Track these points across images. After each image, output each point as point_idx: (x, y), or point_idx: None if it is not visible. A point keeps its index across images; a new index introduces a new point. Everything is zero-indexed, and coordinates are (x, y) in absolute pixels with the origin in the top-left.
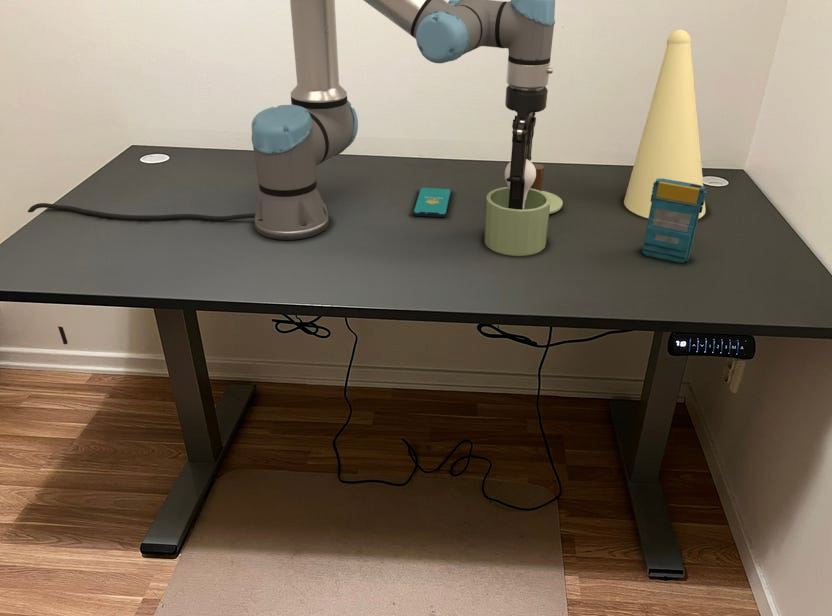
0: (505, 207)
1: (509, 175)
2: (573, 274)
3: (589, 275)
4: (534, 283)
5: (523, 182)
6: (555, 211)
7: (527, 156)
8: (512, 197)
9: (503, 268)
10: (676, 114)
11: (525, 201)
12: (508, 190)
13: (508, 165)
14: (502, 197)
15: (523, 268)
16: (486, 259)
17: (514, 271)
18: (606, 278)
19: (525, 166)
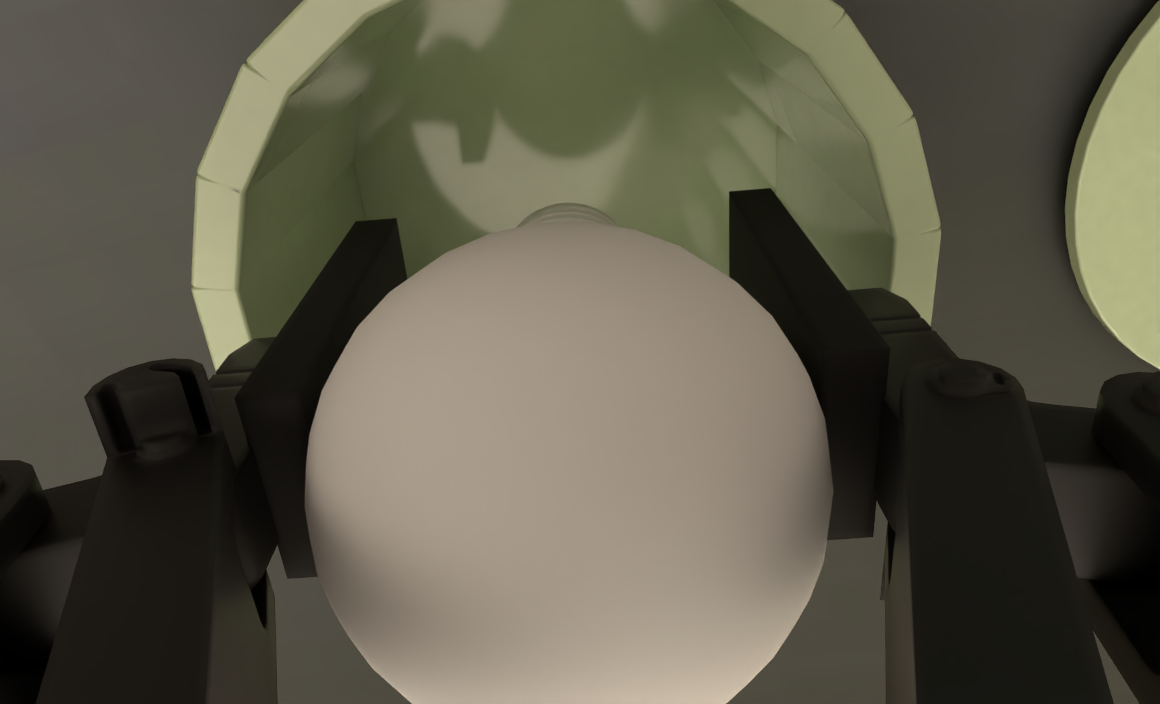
0: (786, 69)
1: (336, 378)
2: (271, 569)
3: (301, 634)
4: (42, 407)
5: (284, 564)
6: (1140, 357)
7: (886, 673)
8: (239, 354)
9: (120, 186)
10: None
11: (842, 276)
12: (853, 124)
13: (452, 388)
14: (788, 50)
15: (194, 310)
16: (187, 27)
17: (120, 266)
18: (309, 699)
19: (411, 698)
